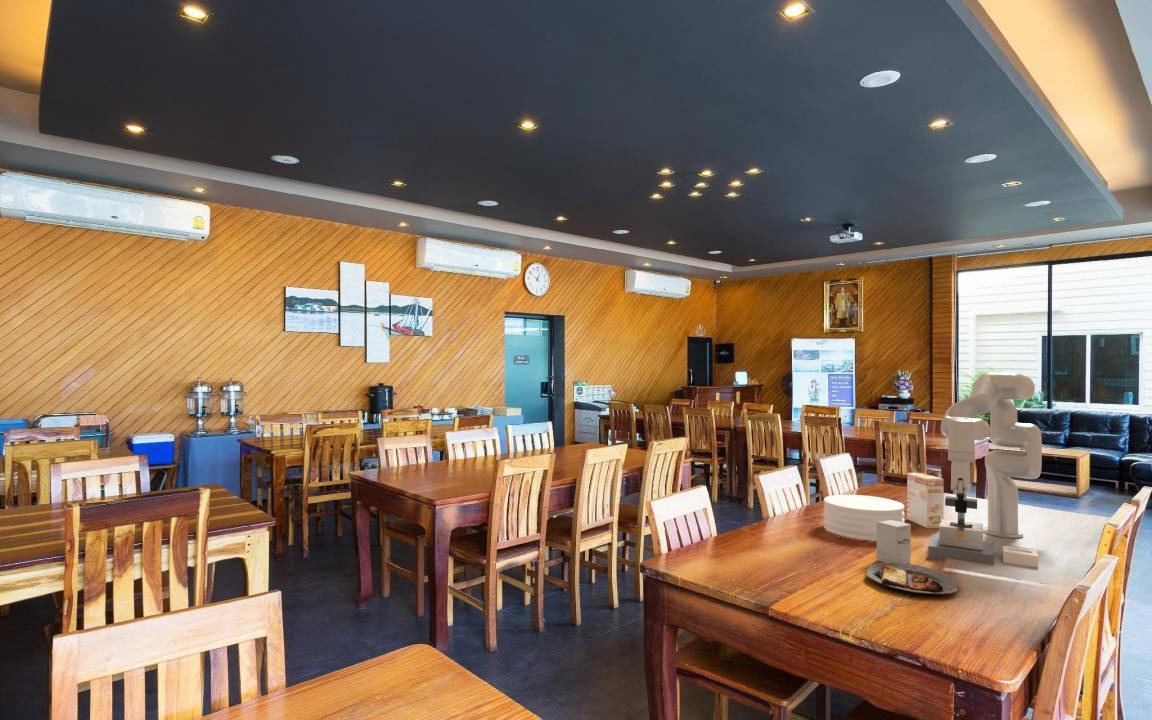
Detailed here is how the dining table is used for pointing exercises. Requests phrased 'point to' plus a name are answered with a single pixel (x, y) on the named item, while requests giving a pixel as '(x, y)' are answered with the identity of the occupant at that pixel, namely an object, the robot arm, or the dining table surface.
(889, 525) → the supplement box
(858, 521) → the plate stack
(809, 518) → the dining table surface
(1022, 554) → the key stand
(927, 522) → the coffeecake box
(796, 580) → the dining table surface
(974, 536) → the chuck
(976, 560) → the grey flat slab
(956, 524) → the block
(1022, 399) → the robot arm
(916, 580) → the food plate
